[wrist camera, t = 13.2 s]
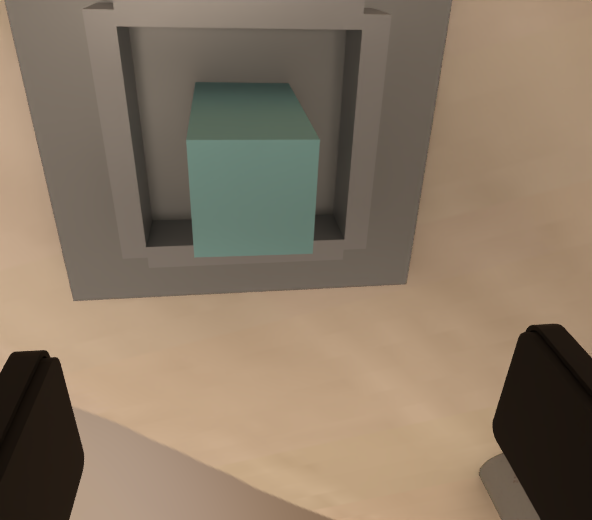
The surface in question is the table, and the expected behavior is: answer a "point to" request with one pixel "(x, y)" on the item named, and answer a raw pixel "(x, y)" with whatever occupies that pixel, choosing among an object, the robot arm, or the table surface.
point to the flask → (506, 490)
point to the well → (175, 119)
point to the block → (251, 170)
